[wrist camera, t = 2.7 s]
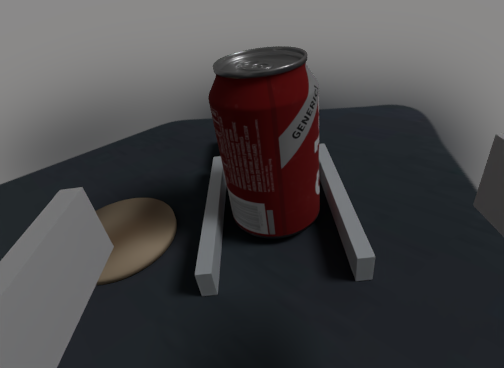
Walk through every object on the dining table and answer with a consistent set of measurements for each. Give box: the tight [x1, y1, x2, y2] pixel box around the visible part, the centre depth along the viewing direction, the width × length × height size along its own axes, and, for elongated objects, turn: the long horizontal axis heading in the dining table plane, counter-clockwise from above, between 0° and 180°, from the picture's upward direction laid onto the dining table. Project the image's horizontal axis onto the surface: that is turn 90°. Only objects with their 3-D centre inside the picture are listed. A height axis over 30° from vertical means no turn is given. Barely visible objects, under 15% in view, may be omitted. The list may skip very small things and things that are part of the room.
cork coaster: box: [95, 198, 177, 285], centre depth 25 cm, size 9×9×1 cm
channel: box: [195, 144, 375, 296], centre depth 25 cm, size 14×10×2 cm
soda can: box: [209, 47, 320, 239], centre depth 22 cm, size 7×7×12 cm
